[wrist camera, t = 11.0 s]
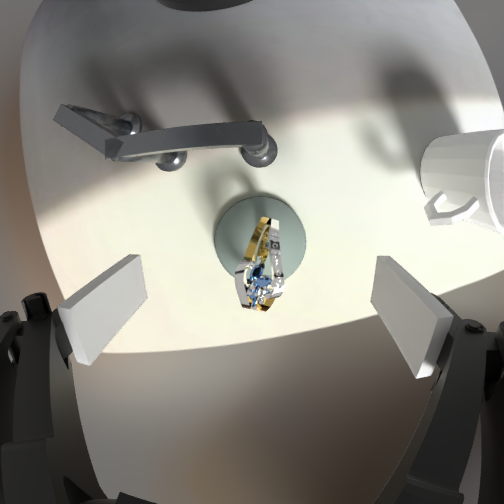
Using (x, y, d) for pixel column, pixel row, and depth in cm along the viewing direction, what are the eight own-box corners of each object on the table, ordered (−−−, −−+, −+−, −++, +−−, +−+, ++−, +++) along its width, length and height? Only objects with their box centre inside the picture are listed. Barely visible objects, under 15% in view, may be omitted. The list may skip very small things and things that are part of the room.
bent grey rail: (150, 71, 20) (95, 32, 11) (284, 146, 22) (293, 126, 12) (111, 136, 22) (41, 127, 13) (235, 216, 24) (211, 245, 14)
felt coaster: (248, 178, 23) (247, 178, 22) (323, 231, 24) (324, 232, 23) (200, 252, 25) (198, 254, 25) (271, 298, 26) (271, 301, 25)
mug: (375, 169, 22) (433, 170, 12) (458, 126, 20) (522, 118, 10) (406, 246, 24) (464, 283, 14) (482, 196, 21) (544, 211, 12)
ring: (270, 290, 25) (268, 338, 17) (236, 280, 25) (220, 326, 17) (292, 216, 23) (302, 238, 15) (255, 206, 23) (247, 223, 15)
